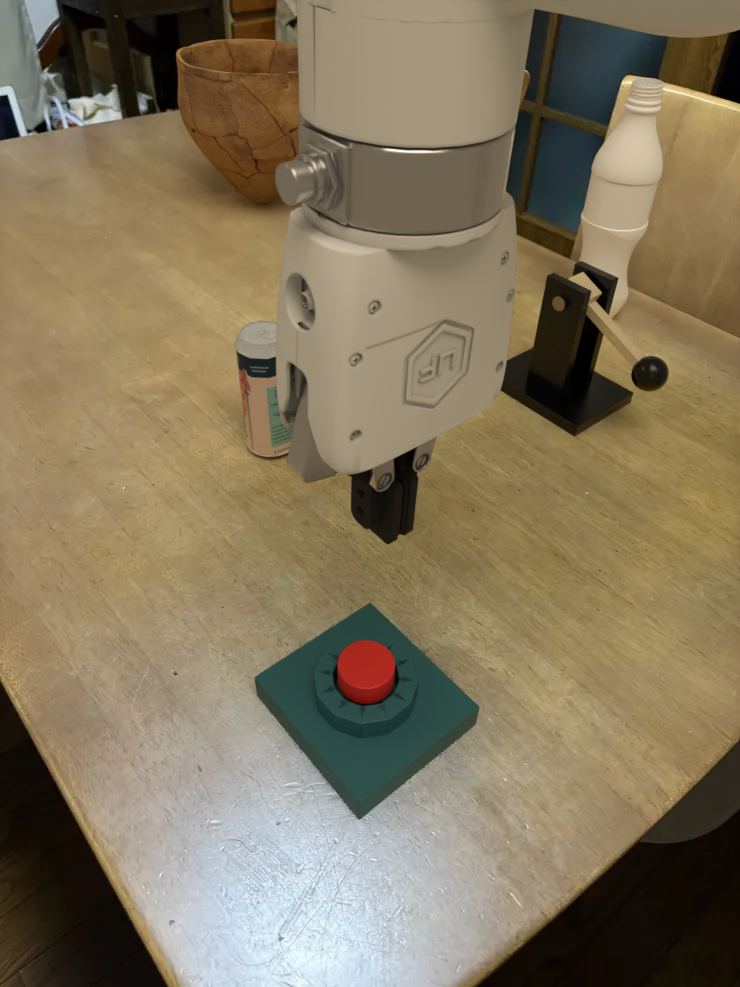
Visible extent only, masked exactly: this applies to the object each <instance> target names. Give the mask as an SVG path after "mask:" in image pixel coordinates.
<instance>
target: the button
mask: <svg viewBox="0 0 740 987" xmlns="http://www.w3.org/2000/svg"><path fill="white" fill-rule="evenodd" d="M337 671H338V685H339V688H340V690H341V691H342V693H343V694H344V695H345V696H346V697H347V698H349V699H350V700H352V701H354V702H357V703H362V704H371V703H375V702H378V701H380V700H382V699H384V698H385V697H386V696H387V695H388V694H389V693H390V691H391V690H392V688H393V685H394V676H395V660H394V657H393V655H392V653H391V652H390V651H389V650H388V649H387V648H386V647H385V646H383V645H382V644H380V643H378V642H374V641H368V640H364V641H358V642H355V643H352V644H350V645H349V646H347V647H346V648H345V649H344V650H343V651H342V652H341V654H340V656H339V658H338V664H337Z"/></svg>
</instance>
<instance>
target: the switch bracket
mask: <svg viewBox="0 0 740 987" xmlns="http://www.w3.org/2000/svg"><path fill="white" fill-rule="evenodd" d="M582 272H584V273H585V274H586V275H587V277H588V278H589V279H590V280H591V281H592V282H593V283H594V284H595V285H596V287H597V288H598V289H599V290H600V291H601V292H602V294H601V295H600V297H599V298H598V299H597V300H596V302H597V303H598V304H599V305H600V306H601V307H602V309H603V310H604V311H605V312H606V313H607V314H608V315H609V313H610V309H611V305H612V302H613V298H614V294H615V290H616V286H617V283H618V279H619V278H618V277H616V276H613V275H611V274H609V273H607V272H605V271H602V270H600V269H598V268H596V267H594V266H591V265H589V264H587V263H585V262H583V261H580V262H579V261H578V262H575V263H574V266H573V270H572V274H571V276H572V277H573V276H575V275H577V274H579V273H582ZM590 296H591V290H589V289H587V288H585V287H583V286H581V285H579V284H576V283H574V282H572V281H570V280H568V278H566V277H564V276H562V275H560V274H558V273H556V272H552V273H550V274H548V275H546V280H545V285H544V289H543V294H542V299H541V304H540V311H539V315H538V319H537V326H536V331H535V335H534V341H533V346H532V347H531V348H529V349H527V350H524V351H523V352H521V353H519V354H517V355H514V356H513V357H511V358H509V359H507V363H506V368H505V374H504V379H503V383H502V387H501V390H500V392H503V393H504V394H506V395H508V396H509V397H511V398H513V399H514V400H516V401H517V402H519V403H521V404H522V405H523V406H525V407H527V408H529V409H530V410H531V411H532V412H535V413H537V414H538V415H540V416H541V417H543V418H545V419H546V420H548V421H549V422H551V423H553V424H554V425H556V426H557V427H559V428H561V429H563V430H564V431H565V432H568V433H569V434H570V435H572V436H573V437H577V435H579V434H580V433H582V432H584V431H585V430H587V429H589V428H591V427H592V426H594V425H596V424H598V422H600V421H602V420H603V419H605V418H607V417H609V416H611V415H613V413H616V412H617V411H618V410H620V409H622V408H623V407H625V406H626V405H628V404H630V403H631V402H632V399H633V396H634V392H633V390H632V391H631V390H630V389H629V388H626V387H624V386H623V385H620V384H618V383H617V382H615V381H614V380H612V379H610V378H608V377H607V376H605V375H602V374H600V373H599V372H597V371H595V369H596V365H597V362H598V358H599V354H600V351H601V347H602V343H603V339H604V336H605V335H604V334H603V333H602V332H601V331H600V330H599V329H598V327H597V326H596V325H595V324H594V323H593V322H592V321H591V320H590V318H589V317H588V316H587V315H586V312H587V308H588V304H589V300H590Z"/></svg>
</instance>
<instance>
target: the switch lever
mask: <svg viewBox="0 0 740 987" xmlns="http://www.w3.org/2000/svg"><path fill="white" fill-rule="evenodd" d="M570 277H571V276H570ZM570 277H568V278H567V279H568V280H570V281H572V282H574V283H576V284H579V285H581V286H583V287H585V288H587V289H589V290H591V296H590V300H589V304H588V308H587V312H586V315H587V316H588V317H589V318H590V320H591V321H592V322H593V323H594V324H595V325H596V326H597V327H598V329H599V330H600V331H601V332H602V333H603V334H604V335H603V336H604V337H605V338H606V339H607V340H608V341H609V343H611V345H612V346H614V348H615V349H616V350H617V351H618V353H619V354H620V355H621V356H622V357H623V358H624V359H625V360H626V362H628V364H629V365H631V367H632V368H631V373H630V378H631V382H632V383H633V385H634V387H636V388H637V389H638V390H640V391H643V392H646V393H650V392H651V393H652V392H655V391H658V390H660V389H661V388H663V387H664V386H665V385H666V384H667V382H668V379H669V376H670V370H669V367H668V364H667V363H666V362H665V361H664V360H663V359H662V358H661V357H659V356H655V355H647V356H646V355H645V354H644V353H643V352H642V351H641V350H640V349H639V348H638V347H637V345H636V344H635V343H634V342H633V341H632V339H630V338H629V336H628V335H627V334H626V333H625V332H624V331H623V330H622V329H621V328H620V327H619V325H618V324H617V323H616V322H615V320H614V319H613V318H610V316H609V315H608V314H607V313H606V312H605V311H604V310H603V309H602V307H601V306H600V305H599V304H598V303H597V302H596V300H597V299H598V298H599V297H600V295H601V294H602V292H601V291H600V290H599V289H598V288H597V287H596V285H595V284H594V283H593V282H592V281H591V280H590V279H589V278H588V277H587V275H586V274H585V273H584V272H582V273H579V274H577V275H575V276H573V277H571V278H570Z"/></svg>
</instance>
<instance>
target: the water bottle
mask: <svg viewBox="0 0 740 987" xmlns="http://www.w3.org/2000/svg"><path fill="white" fill-rule="evenodd" d="M664 87H665V82H664V81H663V80H661V79H657V78H653V77H636V78H634V79H632V82H631V86H630V90H629V95H628V96H626V101H625V102H624V103H623V108H624V112H623V115H622V117H621V118H620V121H619V122H618V124H617V125H616V127H615V129H614V130H613V131H612V132H611V133H610V134H609V135H608V137H606V140H605V141H604V142H603V144H602V145H601V147H600V148H599V149H598V151H597V152H596V154H595V157H594V159H593V162H592V165H591V167H590V168H591V170H590V171H591V174H590V177H589V178H590V179H589V183H588V187H587V190H586V196H585V201H584V206H583V210H582V211H581V213H580V222H581V227H582V246H581V252H580V256H579V260H578V262H580V261H583V262H585V263H587V264H589V265H591V266H594V267H596V268H598V269H600V270H602V271H605V272H607V273H609V274H611V275H613V276H616V277H618V278H619V279H618V283H617V286H616V290H615V294H614V298H613V302H612V305H611V309H610V313H609V316H610V318H611V319H613V318H614V317H615V316H616V315H617V314H619V312H620V311H621V310H622V309H623V307H624V306H625V305H626V302H627V300H628V297H629V293H630V292H629V286H628V269H629V262H630V259H631V257H632V254H633V253H634V250H635V248H636V247H637V245H638V243H639V241H640V240H641V239H642V238H643V237H644V235H645V234H646V232H647V231H648V230H647V229H648V226H649V217H650V214H651V211H652V207H653V203H654V200H655V196H656V192H657V189H658V186H659V182H660V180H661V178H662V175H663V169H664V162H663V160H664V159H663V153H662V149H661V143H660V139H659V134H658V130H657V116H658V113H660V111H661V109H662V106H661V105H660V104H661V103H662V99H661V97H662V94H663V90H664ZM571 277H572V275H571V276H570V277H569V278H571Z"/></svg>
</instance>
